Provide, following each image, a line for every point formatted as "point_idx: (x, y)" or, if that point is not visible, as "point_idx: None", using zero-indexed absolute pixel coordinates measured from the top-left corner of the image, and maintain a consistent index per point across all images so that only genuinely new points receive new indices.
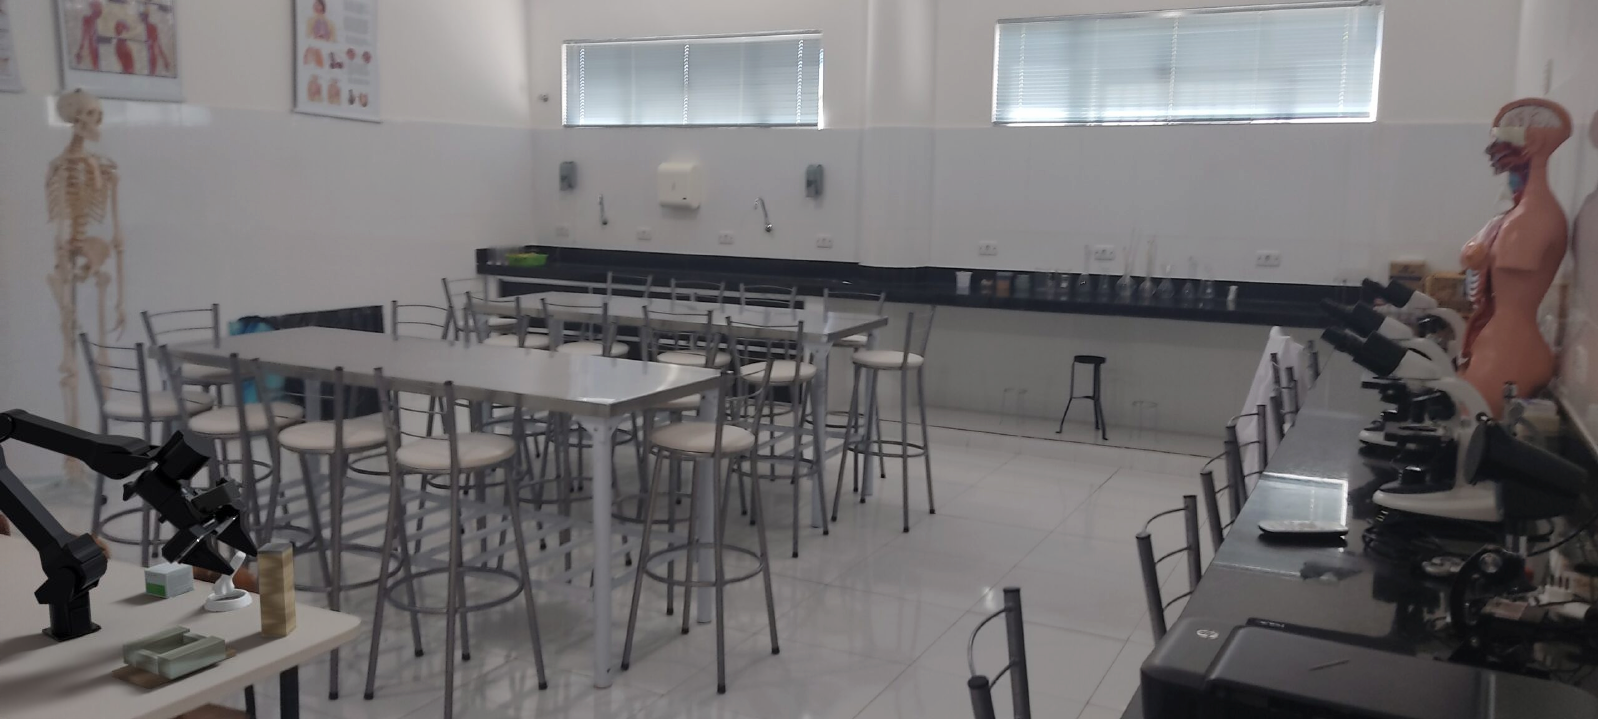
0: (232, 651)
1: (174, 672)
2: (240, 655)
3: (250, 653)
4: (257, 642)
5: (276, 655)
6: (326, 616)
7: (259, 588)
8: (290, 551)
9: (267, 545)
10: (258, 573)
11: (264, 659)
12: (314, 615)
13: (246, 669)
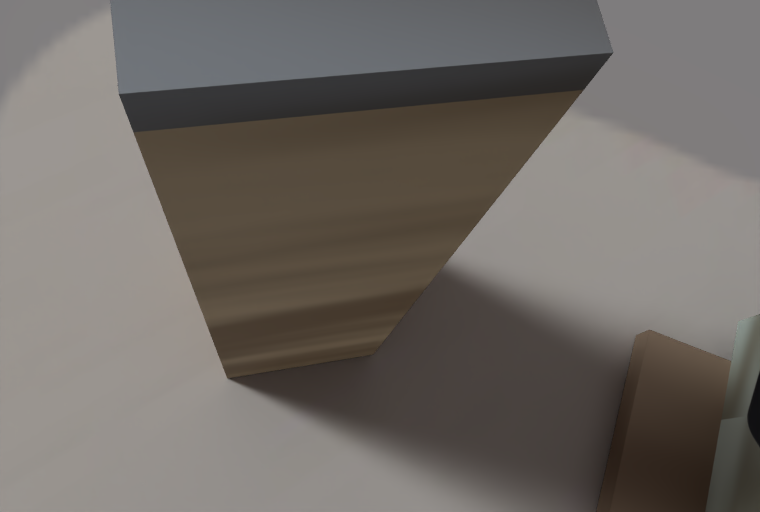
0: (663, 339)
1: None
2: (627, 313)
3: (592, 278)
4: (459, 326)
5: (579, 145)
6: (24, 152)
7: (439, 268)
8: None
9: (292, 17)
10: (484, 214)
11: (633, 174)
12: (10, 227)
13: (746, 193)
